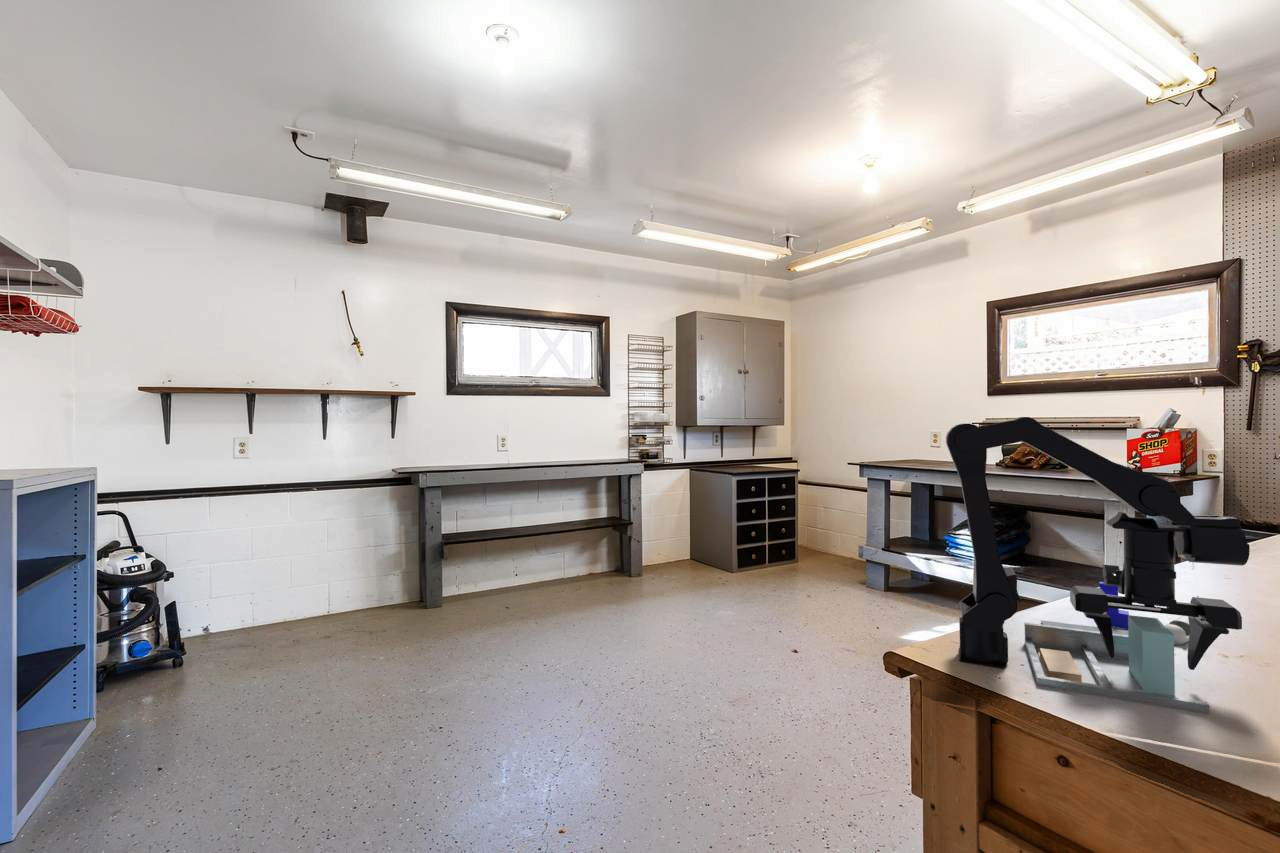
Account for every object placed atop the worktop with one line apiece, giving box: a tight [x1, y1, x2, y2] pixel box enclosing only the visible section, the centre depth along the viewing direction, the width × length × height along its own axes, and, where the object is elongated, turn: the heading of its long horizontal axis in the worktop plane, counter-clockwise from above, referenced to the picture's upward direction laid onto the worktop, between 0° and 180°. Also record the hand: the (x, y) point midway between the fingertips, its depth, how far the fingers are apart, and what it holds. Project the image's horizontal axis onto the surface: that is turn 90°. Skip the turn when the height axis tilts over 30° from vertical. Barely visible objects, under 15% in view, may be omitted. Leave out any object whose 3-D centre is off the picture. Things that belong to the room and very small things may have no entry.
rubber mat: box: [1040, 620, 1128, 635], centre depth 105 cm, size 14×14×1 cm
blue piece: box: [1099, 581, 1130, 630], centre depth 116 cm, size 12×4×6 cm, turn 141°
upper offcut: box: [1039, 647, 1083, 682], centre depth 92 cm, size 4×10×1 cm, turn 152°
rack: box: [1023, 622, 1210, 715], centre depth 90 cm, size 19×19×4 cm
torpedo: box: [1163, 595, 1200, 645], centre depth 107 cm, size 18×5×7 cm, turn 122°
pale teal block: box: [1127, 614, 1176, 696], centre depth 87 cm, size 4×8×9 cm, turn 152°
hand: (1150, 663), depth 87 cm, fingers open, 9 cm apart
